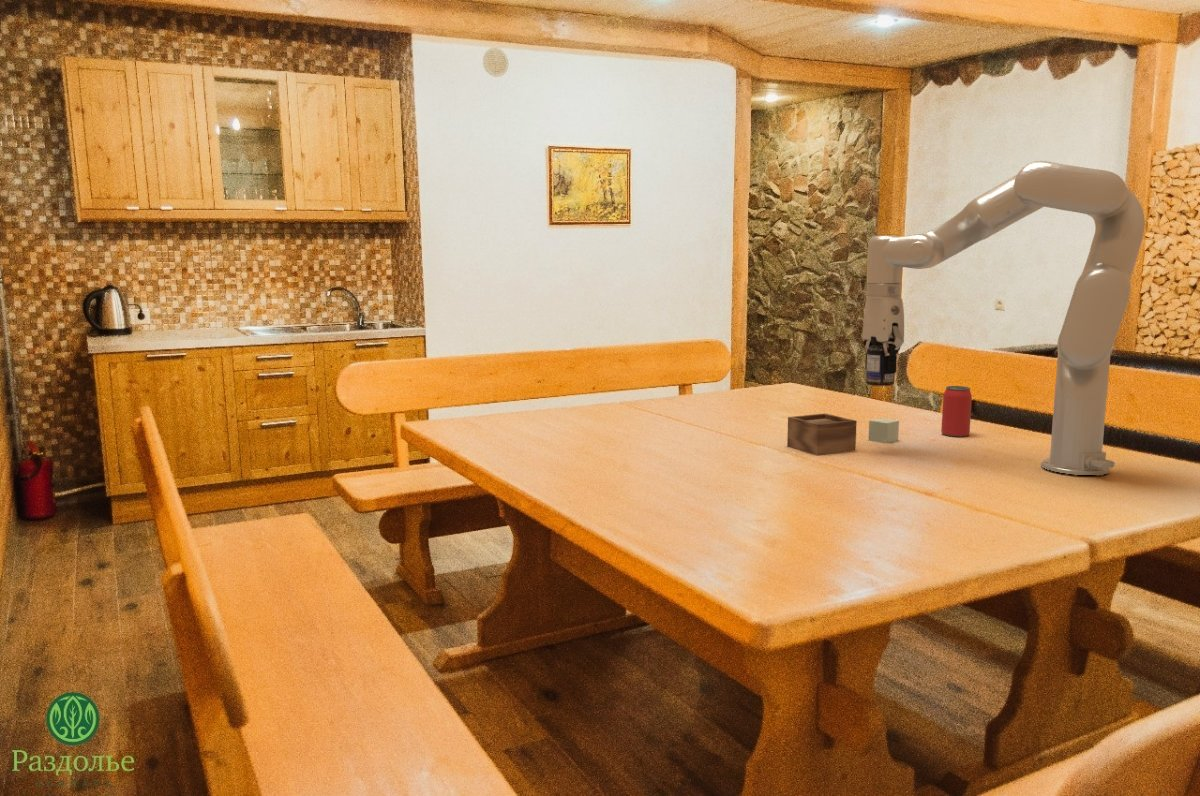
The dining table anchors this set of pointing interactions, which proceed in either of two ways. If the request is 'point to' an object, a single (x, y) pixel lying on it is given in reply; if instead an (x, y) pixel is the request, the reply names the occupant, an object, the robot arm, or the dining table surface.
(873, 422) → the sage cube
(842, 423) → the walnut open box
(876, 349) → the pill bottle
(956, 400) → the beer can
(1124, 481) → the dining table surface
